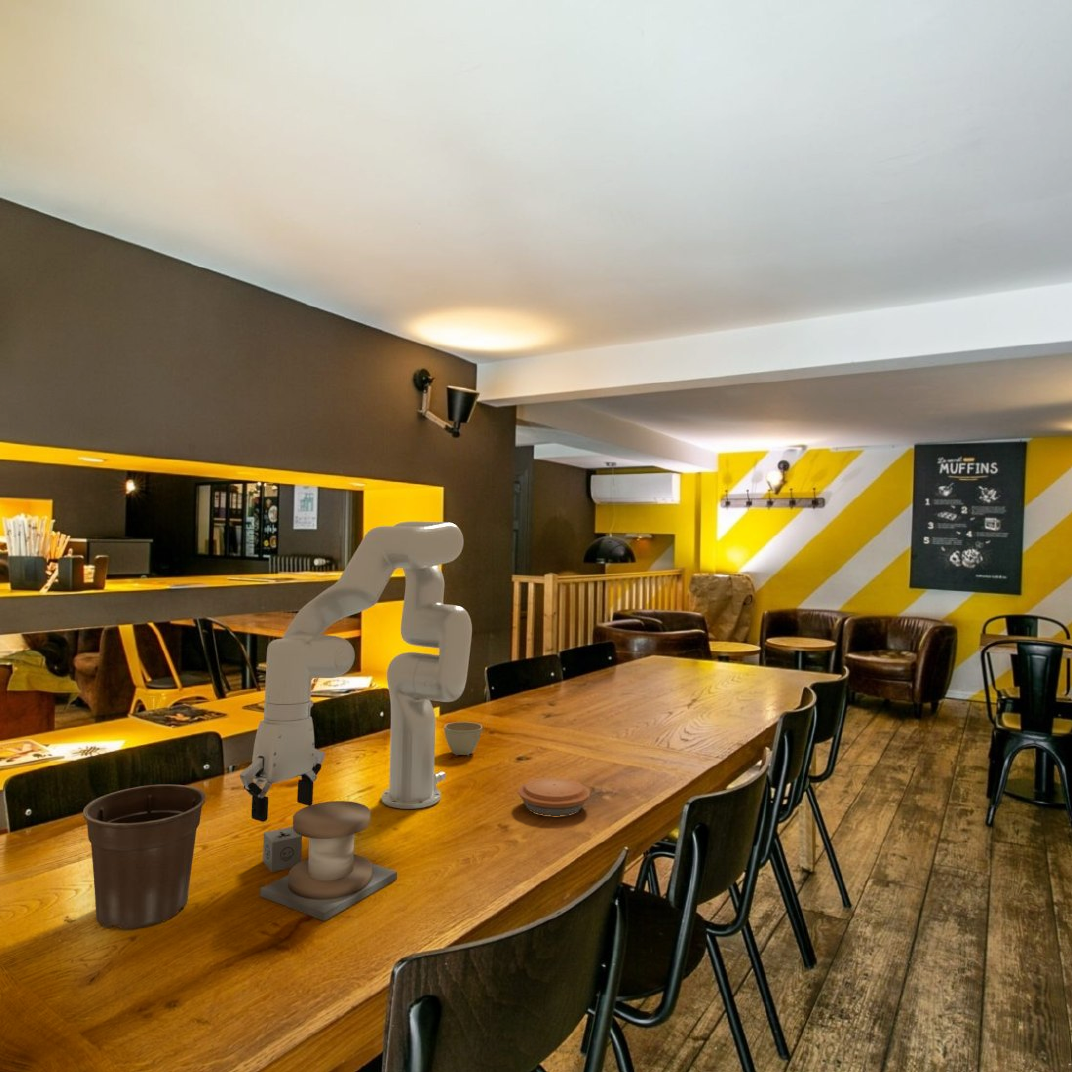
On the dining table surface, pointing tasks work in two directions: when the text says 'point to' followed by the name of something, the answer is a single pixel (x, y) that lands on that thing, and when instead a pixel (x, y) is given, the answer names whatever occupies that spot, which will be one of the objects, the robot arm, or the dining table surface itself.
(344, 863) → the bobbin
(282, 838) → the dice cube
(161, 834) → the plant pot
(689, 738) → the dining table surface
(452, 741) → the flower pot
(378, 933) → the dining table surface
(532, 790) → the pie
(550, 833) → the dining table surface
